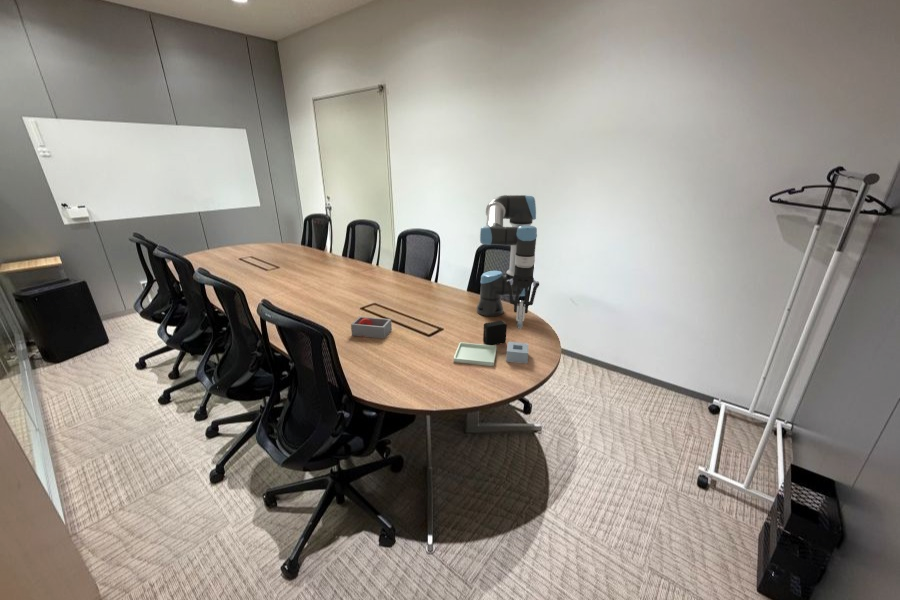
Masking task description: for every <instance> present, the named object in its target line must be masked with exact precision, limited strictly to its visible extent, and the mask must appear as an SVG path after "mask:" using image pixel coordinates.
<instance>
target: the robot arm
mask: <svg viewBox="0 0 900 600" xmlns="http://www.w3.org/2000/svg"><path fill="white" fill-rule="evenodd" d="M485 215H486V222H485V223H486V224H485V226H481V227H480V232H479V233H480V235H479V242H480V244H482V245H488V246H491V245H492V246H510V254H509V269H507V271H506V273H505V274H503V272H502V271H500V270H490V271H486V272H483V273H482V274H481V276H480V292H479V294H480V297H479V301H478V304H477V306H476V313H477V314H479V315H481V316H483V315H484V317H498V315H499V316H501V315H503V313H504V306H503V302H502V296H505V297H506V296H508V297H509V303H510V304H511V305H513V312H514V313H516V315H515V317H516V318H515V321H516V322H517V321H518V312H519V305H518V303H519V298H520V297H524V306H523V317H522V321H523V322H525V314H528V312H529V311H528V310H529V306H533V304H534V301H535V297H536V294H537V291H538V290H537V289H538V288H539V287H540V282H539V281H537V280H535V279H534V269H535V267H534V266H535V258H536V246H537V238H538V234H537V233H538V232H537V231H538V230H537V227H536V226H534V225H532V224H533V221H534V220H537V206H536V199H535V197H534V196H532V195H526V194H525V195H524V194H521V195H518V194H517V195H515V194H514V195H511V194H510V195H506V194H504V195H499V196H496V197H494V198H493V199H492V200H490V202H488V204H487V205H486V209H485ZM505 219H506V220H509V224H510V225H511V226H504V220H505ZM531 285H533V288H532V291H531V296H530V300H529V289H530V286H531ZM514 297H515V298H514ZM500 314H501V315H500Z"/></svg>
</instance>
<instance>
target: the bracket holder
mask: <svg viewBox="0 0 900 600" xmlns="http://www.w3.org/2000/svg"><path fill="white" fill-rule="evenodd" d="M365 318H367V319H369V320H370V321H371V322H372V325H367V323H364V324H363V325H362V324H359V322H360V321H361V320H362V319H365ZM350 329H351V335H352V336H353V337H354V336H355V337H362V335H363V336H364V337H363V338H375V339H383V340H384V339H386V338H387V337H388V335H389V334H390V333H391V332H392V331H393V329H392V319H391V318H382V317H380V318H379V317H369V316H358V317H357V318H356V319H355V320H354V321H353V322H351V323H350Z"/></svg>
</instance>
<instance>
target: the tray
mask: <svg viewBox="0 0 900 600" xmlns="http://www.w3.org/2000/svg"><path fill="white" fill-rule="evenodd" d="M497 348H498V345H486V344H485V343H484V344H480V343H471V342H462V341H461V342H459V343H458V345H457V348H456V351H455V352H454V356H453V360H452V361H453V363H458V364H459V363H461V364H470V365H478V366H487V367H488V366H489V367H494V366H495V361H496V354H497V351H498V350H497Z"/></svg>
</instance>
